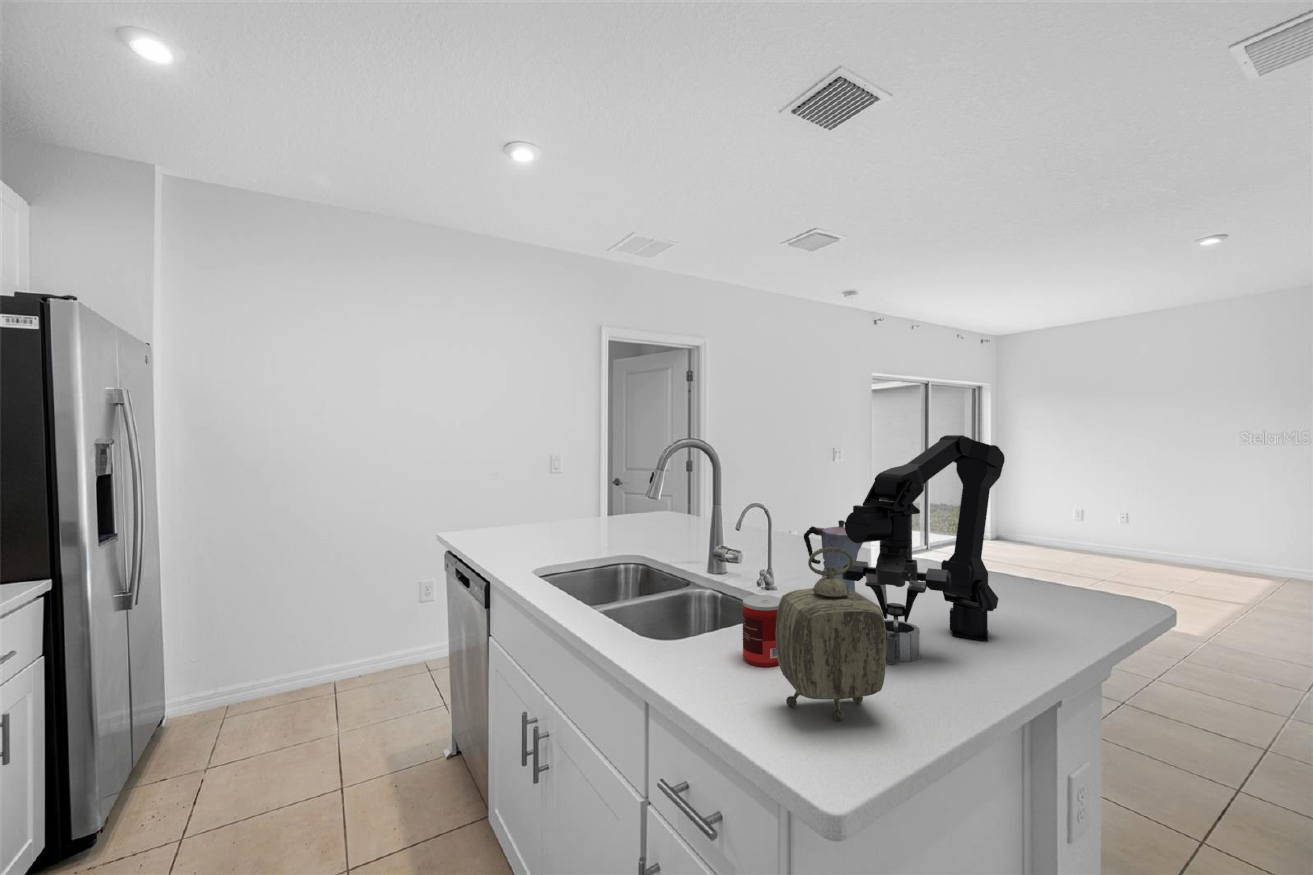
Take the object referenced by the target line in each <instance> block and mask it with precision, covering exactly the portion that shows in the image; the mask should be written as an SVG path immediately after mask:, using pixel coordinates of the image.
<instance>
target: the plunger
mask: <svg viewBox="0 0 1313 875" xmlns="http://www.w3.org/2000/svg"><path fill="white" fill-rule="evenodd" d="M904 613H905V605H904V604H901V603H897V602H887V614H888V615H889V616H891V617H893V620H894V632H897V633H898V621H899V617H904Z"/></svg>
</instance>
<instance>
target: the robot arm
mask: <svg viewBox="0 0 1313 875" xmlns="http://www.w3.org/2000/svg"><path fill="white" fill-rule="evenodd" d="M952 463H955V464H956V473H957V475H958V478H959V479H960V482H961V484H962V491H961V498H960V505H959V512H958V514H959V515H958V521H957V529H956V537H955V545H954V552H953V554H952V555H951V556H950V557H949V559H947V560H946V559H943V560H942V561H941V564H940V565H941V566H940V567H941V569H939V568H930V567H928V568H927V571H926V572H920V571H918V569H919V568H918V561H917V560H916V559H913V515H918V514H920V513H921V510H920V509H919V508H918V507H917V506H916V505H915V504H914V502H915V501H916V500H917V499H918V498H919V496H921V495H922V493H923V492H924V490H925V484H926V483H927V482H928V481H929V480H931V479H932V478H933V477H934V476H937V474H939V473H940V472H942V471H943V470H944V469H945V468H947V467H948V466H949V465H951V464H952ZM1004 464H1005V454H1004V452H1003V451H1001V448H1000V447H999V446H998V445H996V444H994V445H993V444H987V443H985V442H984V443H983V442H981V441H978V440H975V439H972V438H970V437H968V436H965V435H962V434H961V435H959V434H957V435H956V434H954V435H953V434H951V435H949V434H945V435H943V436H941V437H940V438H939V440H938V441H937V442H936V443H934V444H933V445H931V446H930V447H928V448H927V449H925V451H923V452H921V453H920V454H919V455H917V456H916V457H914V458H913V459H912V460H910V461H908V462H907V463H905V464H903V465H899V466H894V467H890V468H888V469H886V470H883V471H881V472H879V473H878V474H877V475H876V476H875V477H874V482H873V483H872V485H871V487H870V490H869V491H868V492H867V495H866V497H865V498H864V500H863V503H862V505H860V504H857V505H853V507H852V512H850V513H849V514H848V515H847V517H846V519H845V523H844V527H845V531H846V534H847V536H848V537H849V539H850V540H851V541H852V542H854V543H863V544H864V543H872V542H879V554H878V556H877V559H876V564H875V567H873V566H869V562H868V561H862V560H856V561H853V565H852V567H851V568H850V569H849V570H848V571H847V572H845V573H843V579H844V580H852V581H855V582H860V581H861V580H862V579H863V578H864V577H865V583H864V585H865V587H869V588H871V590H872V591H873V593H874V595H875V597H876V599H877V601H878V604H879V605H878V606H880V609H881V611H882V614H883V617H884V620H888V614H887V604H888V595H887V594H888V593H887V586H893V587H894V586H895V587H896V588H902V587H905V585H906V582H908V583H909V585H908V587H907V588H906V599H905V605H904V606H905V613H904V616H903V617H904V622H907V623H908V620H909V617H910V614H911V611H912V608H913V605H914V603H915V601H916V599H917V597H918V595H919V594H924V593H926V590H927V588H928V589H929V590H930V591H935V592H936V591H938V592H942V594H943V600H944V601H945V602H950V603H952V607H950V609H949V630H950V632H951V636H953V637H957V638H965V639H970V640H975V641H976V640H977V641H982V642H989V628H988V627H989V626H988V615H989V614H988V612H994V610H996V609H997V608H998V603H999V597H998V595H996V593H995V591H994V590H993V589H992V588H991V586H990V585H989V572H988V570H987V567H986V565H985V563H984V561H983V560H982V554H983V549H984V548H983V547H984V539H985V531H986V523H987V515H988V507H989V500H990V499H989V498H990V492H991V488H992V487H993V486H994V485H995V484H996V482H998V480H999V479H1000V478H1001V476H1002V475H1001V474H1002V472H1003V466H1004ZM849 564H850V561H849V562H848V563H847V564H846V565H845V566H844V567H843V569H844V568H846V567H847V566H849Z"/></svg>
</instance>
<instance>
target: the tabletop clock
mask: <svg viewBox="0 0 1313 875" xmlns="http://www.w3.org/2000/svg"><path fill="white" fill-rule="evenodd" d="M824 552H841V553H843V554H845V555H846V556H848V558H849V560H850V564H849V566H847V567H846V568H844V569H841V570H836V571H834V567H833V566H831V565H830V566H828V567H827V571H823V570H822V569H821V570H820V569H817V568H815V567H814V566H813V563H812V560H813V558H815V557H817V556H818V555H821V554H823V553H824ZM807 564H808V567H809V569H810V570H811V571H812V572H813V573H815V574H817V575H820V576H821V577H820V578H819V579H818V580H817V581H816V582H815V584H814V586H813V588H812V587H811V588H803V589H796V590H792V591H789V592H787V593H785V594H783V595H782V596H781V600H780V603H779V606H778V611H777V620H776V635H775V636H776V648H777V658H778V663H779V665H778V667H779V670H780V671H781V673H782V675H783V677H784V678H785V679H786V680H787V682H789V685H791V686H792V688H794V690H795V693H794V694H793V695H788V696H787V697H786V699H785V700H786V701H785V702H786V704H787V706H788V707H789V708H794V707H796V705H797V703H798V700H797V698H799V696H801V697H804V698H806V699H811V700H833V703H834V709H833V711H832V714H831V715H832V718H833V719H834V720H836V721H837V722H840V721H842V720H844V717H845V715H844V712H843V710H842V709H840V700H846V699H852V700H853V701H852V702H854V703H857V704H860V703H862V701H863V699H864V697H868V696H873V695H875V694H877V693H879V692H881V691H882V689H883V685H884V684H885V677H886V667H887V666H886V664H887V659H886V653H887V642H886V629H885V622H884V620H885V619H884V616H883V613H882V610H881V607H880V605H878V604H877V603H875V602H873V601H872V600H870V599H869V598H866V597H865V596H863V595H861V594H860V593H858V592H856V591H855V592H854V591H852V590H849V589H848V587H847V586H846V584H845V583H844V582H843V581H842V580H841V579H839V578H837V577H834V576H835V575H840V574H843V573H845V572H847V571H848V570H849V569H850V568H851V567H852V565H853V558H852V556H851V554H850V553H848V552H847V551H846V550H844V549H842V548H836V547H826V548H822V547H821V548H819V549H817V550H815V551H814V552H813V554H812V555H811V556H809V558H808V563H807ZM822 575H825V576H827V577H822Z"/></svg>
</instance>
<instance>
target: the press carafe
mask: <svg viewBox="0 0 1313 875" xmlns="http://www.w3.org/2000/svg"><path fill="white" fill-rule="evenodd" d="M884 622H885V629H886V642H887V653H886V664H888V665H892V666H893V665H895V664H896V662H913V661H916V660H919V659H920V653H921V652H920V650H921V648H920V647H921V646H920V645H921V644H920V643H921V642H920V640H921V639H920V638H921V637H920V635H921V634H920V633H921V632H920V631H921V629H920V627H918V626H917V625H915V624H913V623H909V622H908V621H907V622H905V621H903V620H898V633H897V632H894V619H884Z"/></svg>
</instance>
